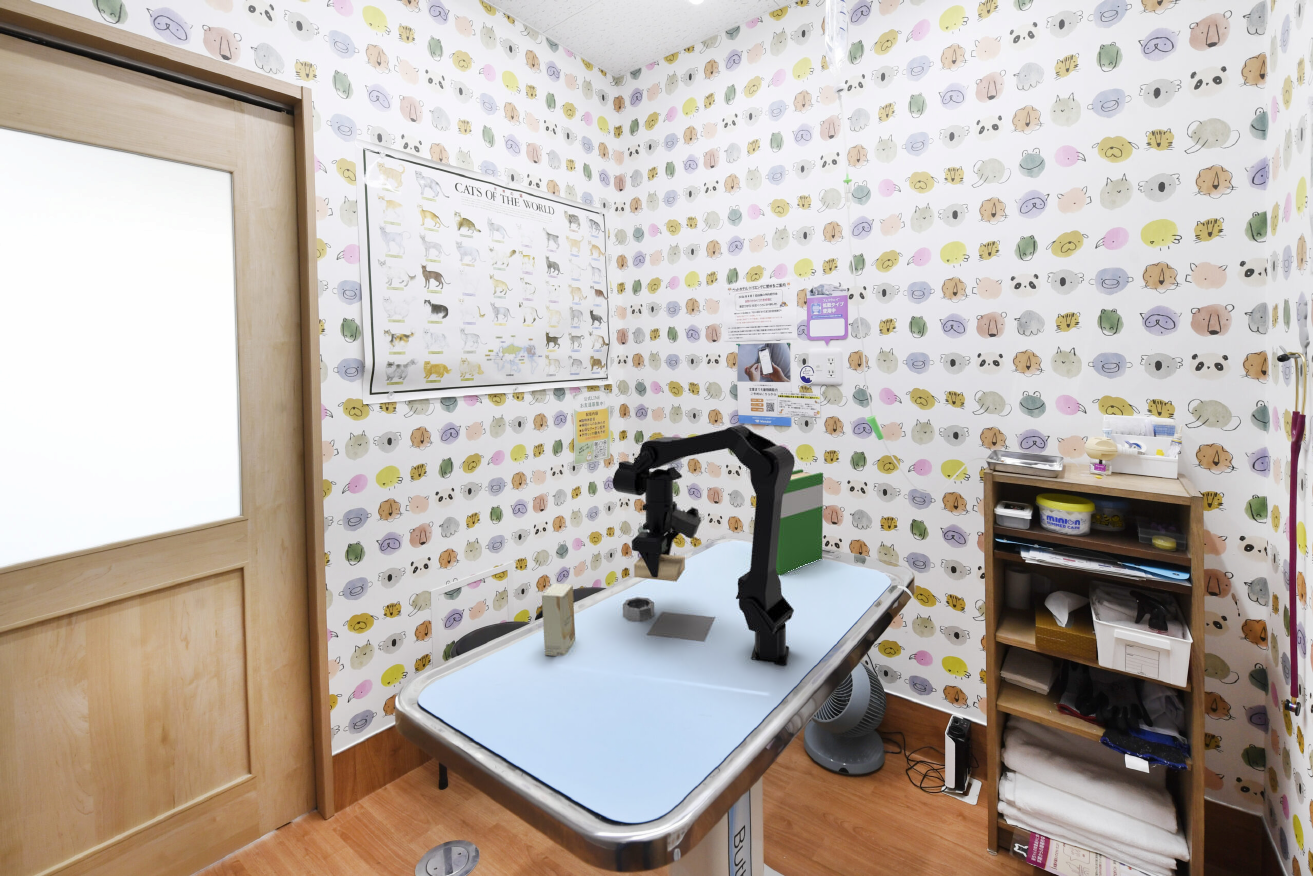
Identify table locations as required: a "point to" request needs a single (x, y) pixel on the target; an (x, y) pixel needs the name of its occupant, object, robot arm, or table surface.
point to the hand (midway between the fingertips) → (660, 570)
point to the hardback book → (800, 522)
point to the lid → (662, 568)
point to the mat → (682, 626)
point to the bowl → (638, 609)
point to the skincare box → (558, 619)
